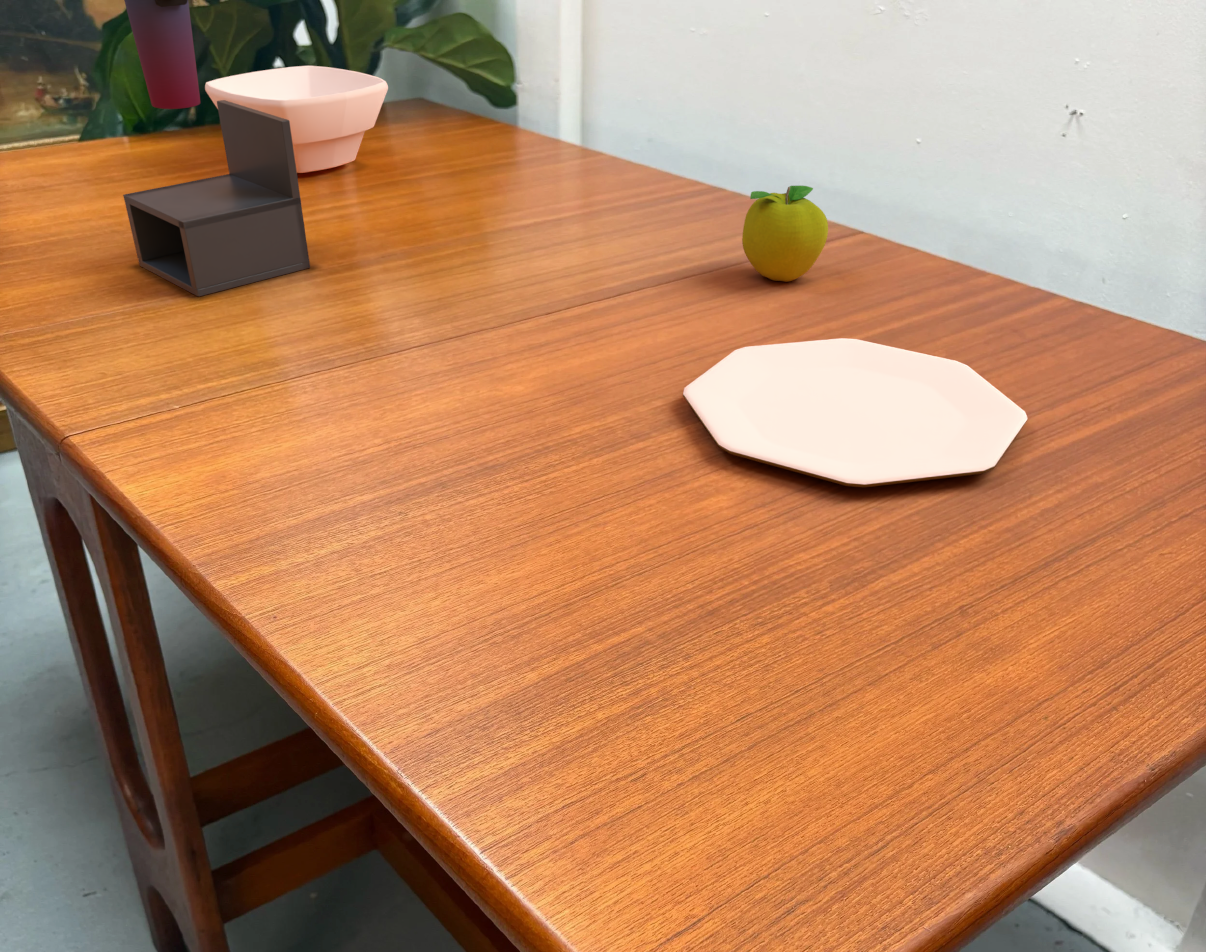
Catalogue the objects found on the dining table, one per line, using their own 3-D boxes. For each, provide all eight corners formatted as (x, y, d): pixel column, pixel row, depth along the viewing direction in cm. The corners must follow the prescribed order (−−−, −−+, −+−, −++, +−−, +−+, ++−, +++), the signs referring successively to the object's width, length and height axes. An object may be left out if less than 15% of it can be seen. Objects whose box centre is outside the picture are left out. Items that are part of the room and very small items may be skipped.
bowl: (321, 141, 180) (311, 61, 173) (415, 166, 168) (407, 81, 162) (199, 168, 166) (183, 82, 160) (291, 196, 154) (278, 105, 148)
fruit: (722, 273, 130) (728, 183, 124) (785, 259, 134) (794, 171, 128) (774, 297, 124) (783, 203, 118) (838, 282, 128) (850, 191, 122)
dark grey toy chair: (198, 297, 123) (166, 141, 113) (139, 265, 131) (105, 118, 122) (310, 267, 131) (289, 120, 121) (248, 240, 139) (224, 99, 130)
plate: (655, 368, 108) (656, 353, 107) (922, 344, 113) (925, 330, 112) (754, 512, 86) (755, 495, 85) (1079, 474, 91) (1084, 457, 90)
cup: (199, 111, 120) (169, -53, 111) (134, 110, 119) (99, -54, 111) (216, 97, 125) (189, -60, 117) (154, 97, 125) (122, -60, 116)
